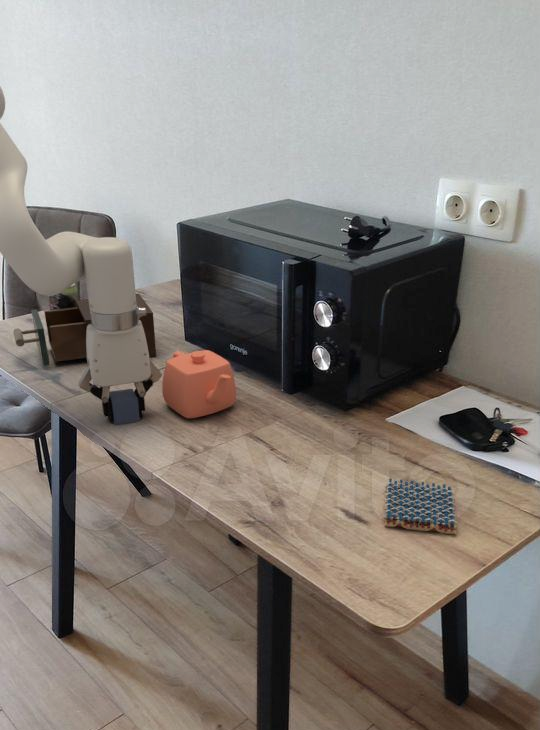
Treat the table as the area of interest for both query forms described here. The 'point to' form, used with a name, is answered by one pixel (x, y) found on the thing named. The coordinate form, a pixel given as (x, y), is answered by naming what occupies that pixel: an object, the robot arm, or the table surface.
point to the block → (124, 406)
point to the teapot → (198, 383)
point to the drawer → (58, 334)
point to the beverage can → (64, 299)
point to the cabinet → (145, 320)
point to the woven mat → (420, 507)
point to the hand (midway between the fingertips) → (124, 415)
